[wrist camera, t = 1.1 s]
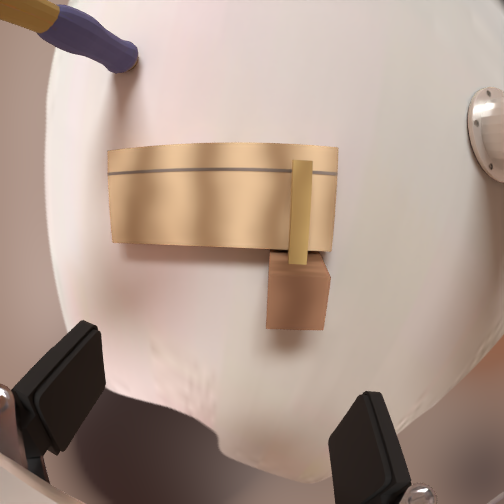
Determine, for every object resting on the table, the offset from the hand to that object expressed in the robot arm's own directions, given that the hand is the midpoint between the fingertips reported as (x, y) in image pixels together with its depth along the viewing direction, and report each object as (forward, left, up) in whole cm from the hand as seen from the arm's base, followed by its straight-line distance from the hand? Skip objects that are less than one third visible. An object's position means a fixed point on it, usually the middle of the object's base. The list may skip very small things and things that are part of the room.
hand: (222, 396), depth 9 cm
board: (+4, -4, -22) cm, 23 cm away
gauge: (-4, -1, -22) cm, 23 cm away
